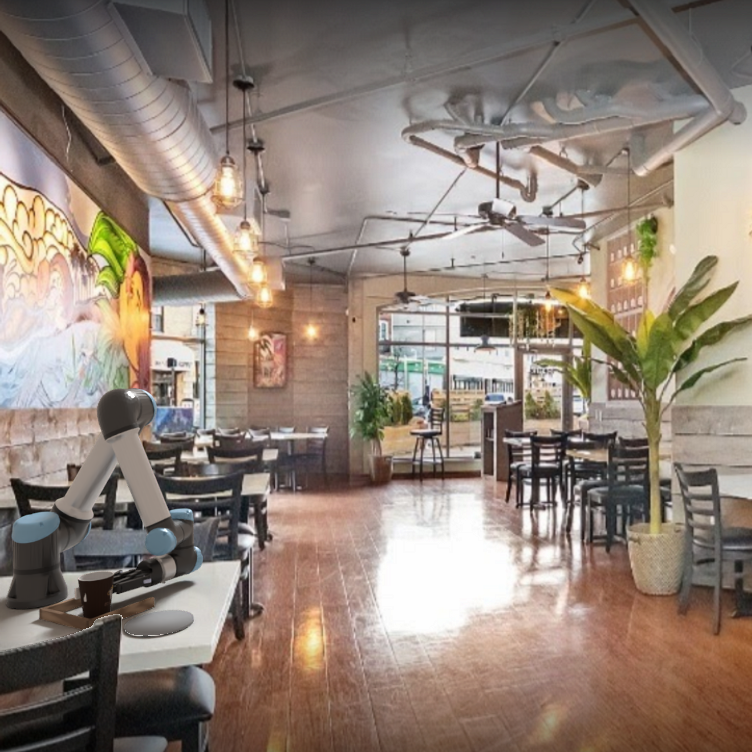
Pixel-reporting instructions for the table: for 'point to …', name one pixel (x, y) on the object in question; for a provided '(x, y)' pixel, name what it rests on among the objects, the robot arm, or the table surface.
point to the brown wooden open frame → (58, 616)
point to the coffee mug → (96, 593)
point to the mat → (159, 622)
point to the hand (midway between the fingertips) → (80, 595)
